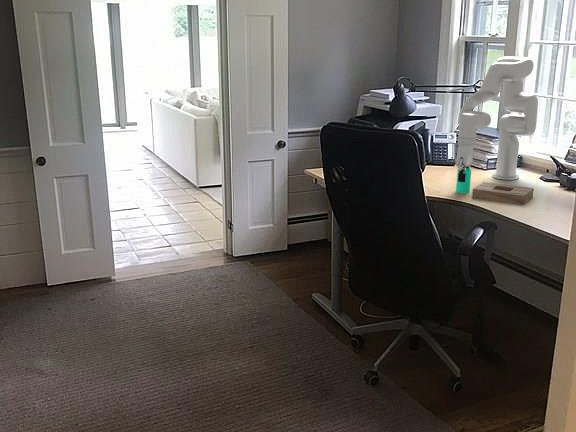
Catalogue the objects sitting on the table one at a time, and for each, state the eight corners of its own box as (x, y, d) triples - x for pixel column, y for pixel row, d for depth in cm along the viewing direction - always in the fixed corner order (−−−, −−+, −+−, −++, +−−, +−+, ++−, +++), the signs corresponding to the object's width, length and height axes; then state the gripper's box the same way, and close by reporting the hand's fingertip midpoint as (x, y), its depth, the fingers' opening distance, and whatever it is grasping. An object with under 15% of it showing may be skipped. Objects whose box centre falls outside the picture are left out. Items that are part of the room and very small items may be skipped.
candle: (460, 193, 276) (462, 167, 273) (453, 190, 282) (455, 165, 278) (472, 192, 278) (474, 167, 274) (464, 189, 283) (467, 164, 280)
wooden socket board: (483, 190, 282) (484, 181, 281) (532, 197, 270) (533, 188, 269) (472, 197, 270) (472, 188, 269) (523, 204, 258) (524, 195, 257)
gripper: (464, 137, 282) (461, 176, 287) (451, 142, 269) (448, 183, 274) (481, 139, 278) (477, 178, 283) (468, 144, 264) (465, 185, 270)
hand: (463, 180), depth 278 cm, fingers closed on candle, 4 cm apart
